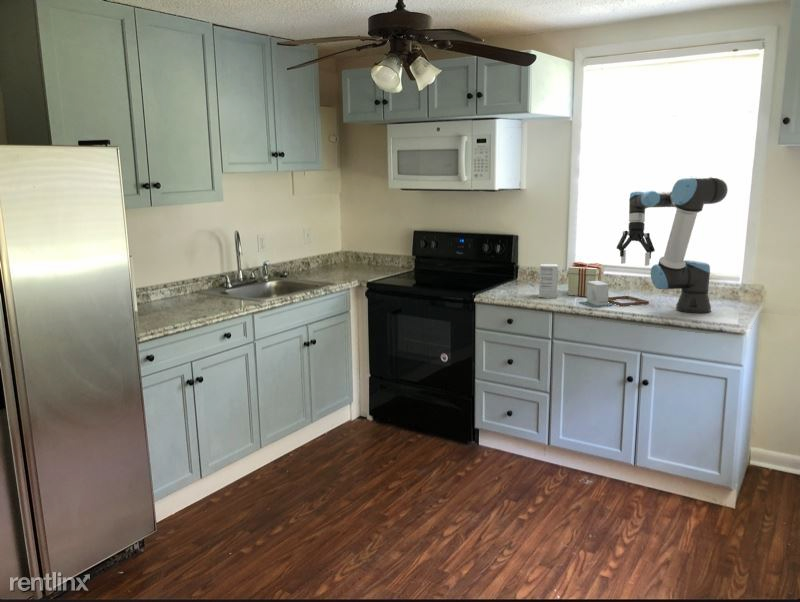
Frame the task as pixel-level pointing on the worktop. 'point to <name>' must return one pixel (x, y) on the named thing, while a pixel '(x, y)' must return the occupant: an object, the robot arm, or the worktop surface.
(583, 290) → the gift box
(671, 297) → the worktop surface
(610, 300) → the walnut collar
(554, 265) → the supplement box
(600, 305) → the rubber mat
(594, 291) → the skincare box
